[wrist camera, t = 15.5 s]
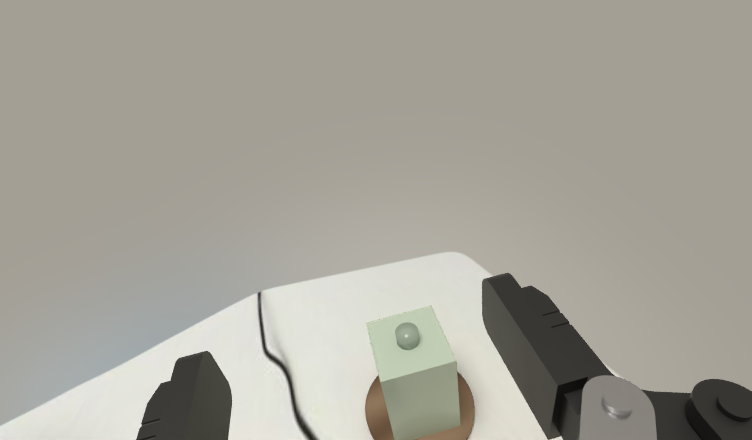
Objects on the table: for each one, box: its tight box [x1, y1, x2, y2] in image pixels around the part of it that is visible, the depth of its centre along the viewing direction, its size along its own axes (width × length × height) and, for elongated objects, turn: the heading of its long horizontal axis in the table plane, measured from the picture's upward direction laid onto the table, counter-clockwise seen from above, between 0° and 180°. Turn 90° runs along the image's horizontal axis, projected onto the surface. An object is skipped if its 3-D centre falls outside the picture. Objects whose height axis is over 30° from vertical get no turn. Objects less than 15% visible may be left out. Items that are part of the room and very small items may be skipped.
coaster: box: [365, 372, 474, 440], centre depth 40 cm, size 11×11×1 cm
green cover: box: [366, 306, 461, 440], centre depth 37 cm, size 6×6×11 cm
